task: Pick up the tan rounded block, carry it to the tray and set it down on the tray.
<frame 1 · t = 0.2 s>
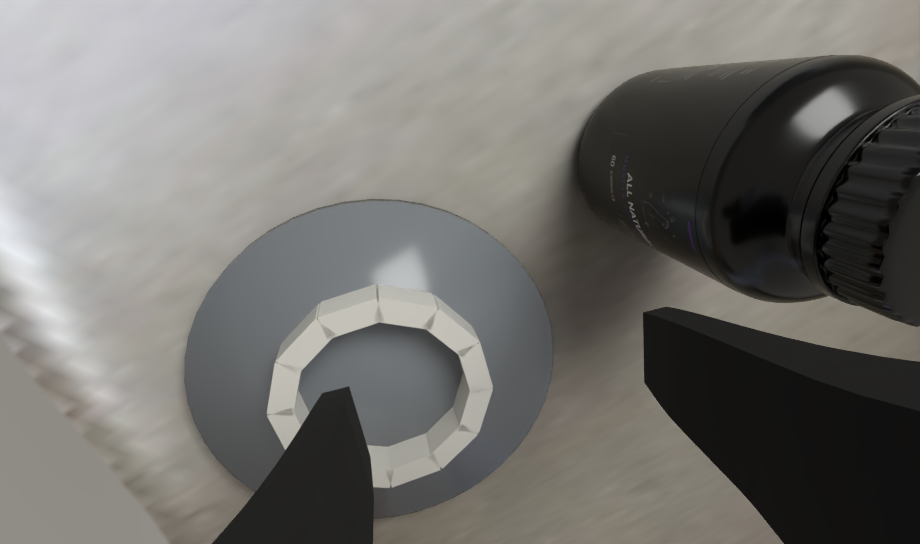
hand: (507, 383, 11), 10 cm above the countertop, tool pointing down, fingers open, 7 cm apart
supplement bottle: (643, 155, 21), on the countertop
tray: (382, 371, 21), on the countertop
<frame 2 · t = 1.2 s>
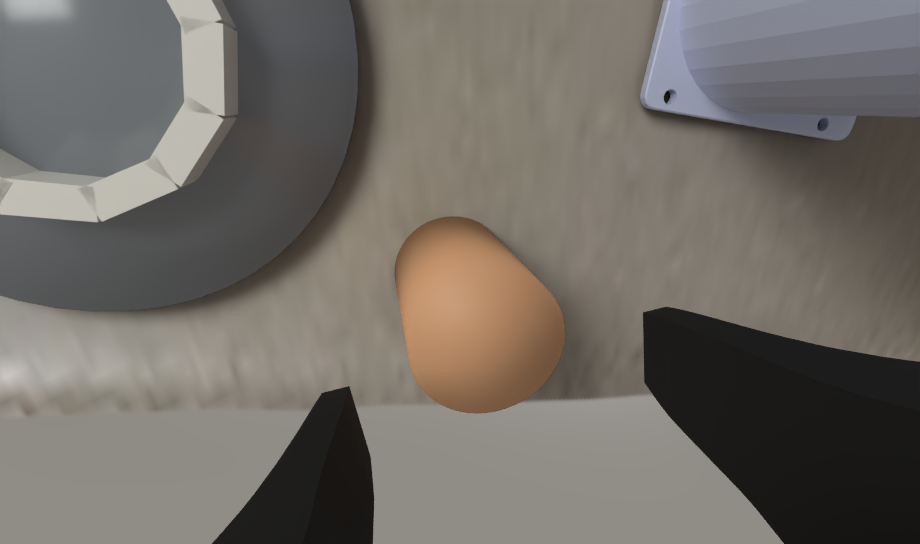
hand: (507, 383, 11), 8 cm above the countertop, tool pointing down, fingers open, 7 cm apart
tray: (78, 50, 14), on the countertop
tan rounded block: (451, 271, 18), on the countertop
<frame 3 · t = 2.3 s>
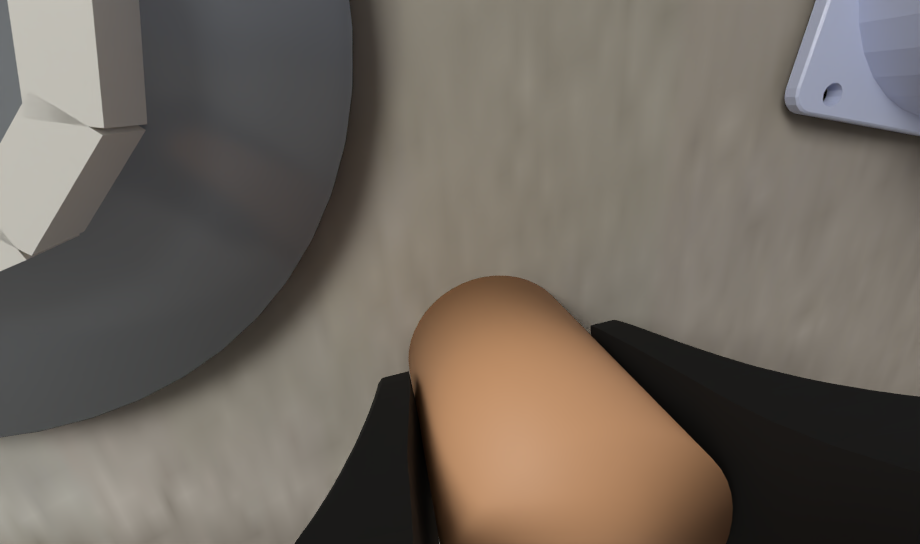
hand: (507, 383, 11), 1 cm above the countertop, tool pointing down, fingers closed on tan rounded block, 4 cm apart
tan rounded block: (491, 353, 12), on the countertop, touching gripper
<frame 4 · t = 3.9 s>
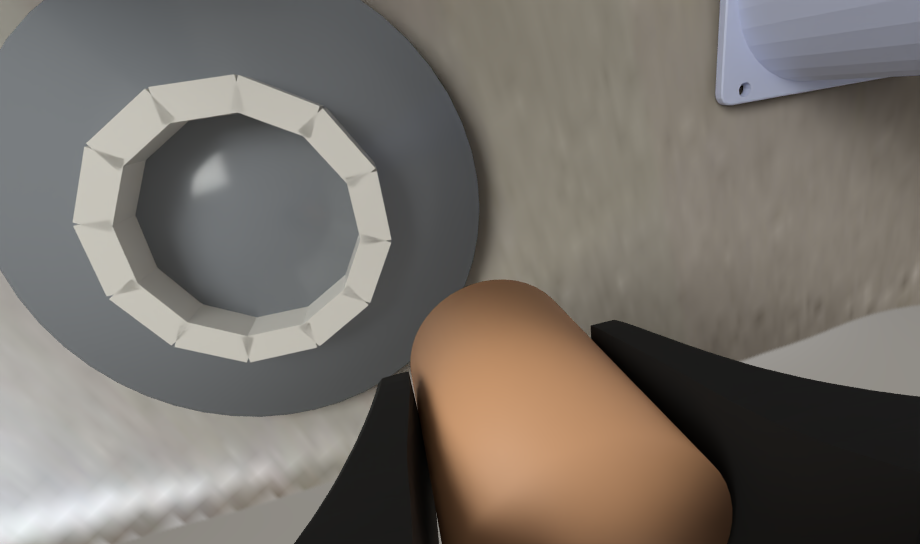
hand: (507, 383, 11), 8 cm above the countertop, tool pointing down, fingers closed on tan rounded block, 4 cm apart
tray: (258, 216, 17), on the countertop
tan rounded block: (492, 356, 12), point 7 cm above the countertop, touching gripper
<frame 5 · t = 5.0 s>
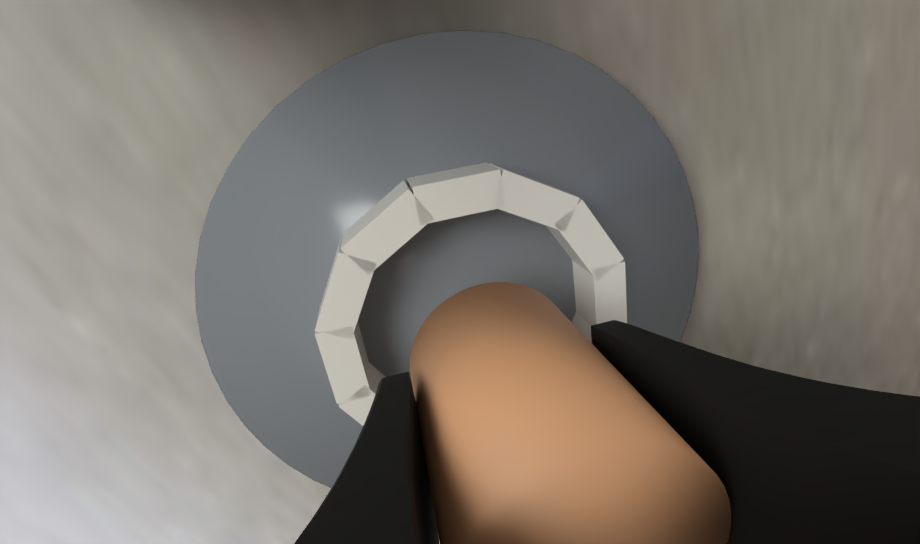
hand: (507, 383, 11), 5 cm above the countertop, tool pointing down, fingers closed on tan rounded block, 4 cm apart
tray: (466, 301, 16), on the countertop
tan rounded block: (492, 359, 12), point 3 cm above the countertop, touching gripper
when the fingers open (4 cm above the countertop, at t = 5.7 s): tan rounded block drops 1 cm, resting on tray.
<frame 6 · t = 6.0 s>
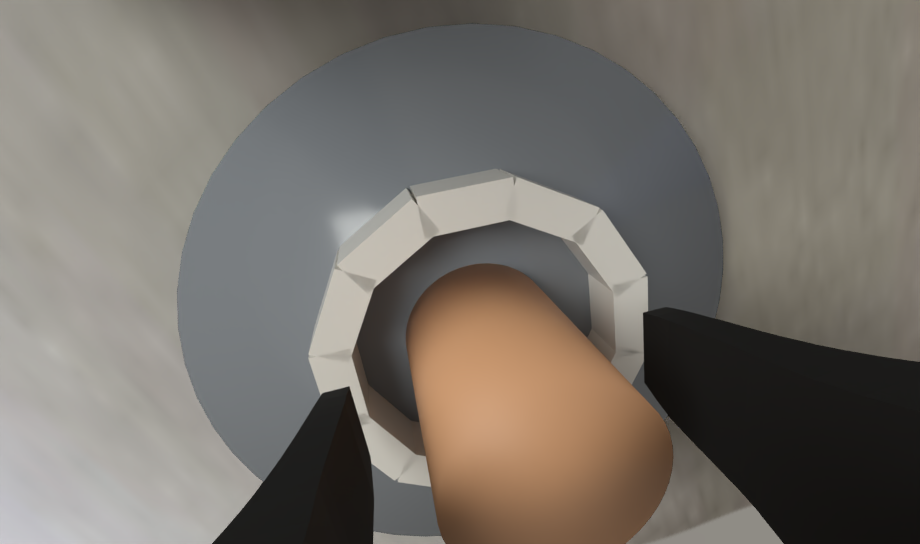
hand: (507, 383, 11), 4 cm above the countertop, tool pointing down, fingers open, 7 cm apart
tray: (473, 317, 14), on the countertop
tan rounded block: (480, 333, 14), point 1 cm above the countertop, touching tray
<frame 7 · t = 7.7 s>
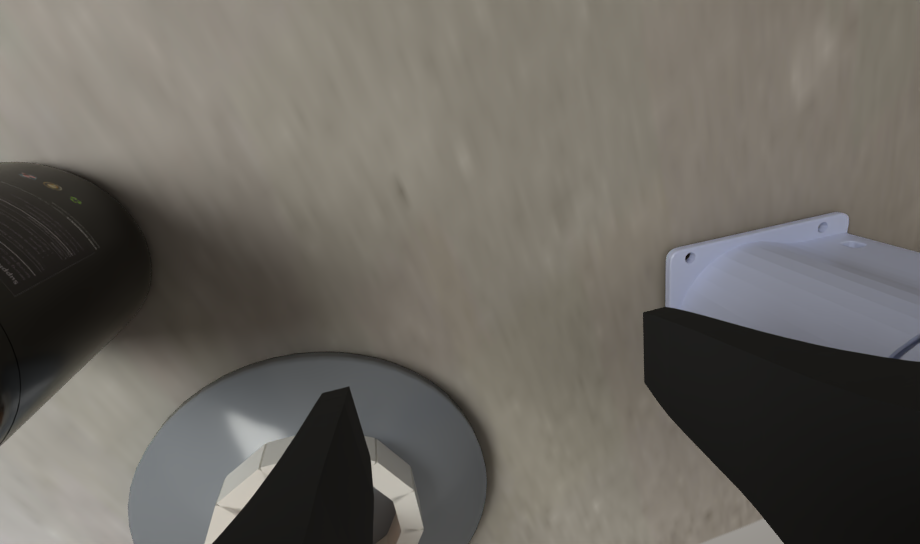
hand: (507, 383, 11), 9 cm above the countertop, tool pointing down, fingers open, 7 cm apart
supplement bottle: (57, 253, 17), on the countertop
tray: (322, 497, 23), on the countertop
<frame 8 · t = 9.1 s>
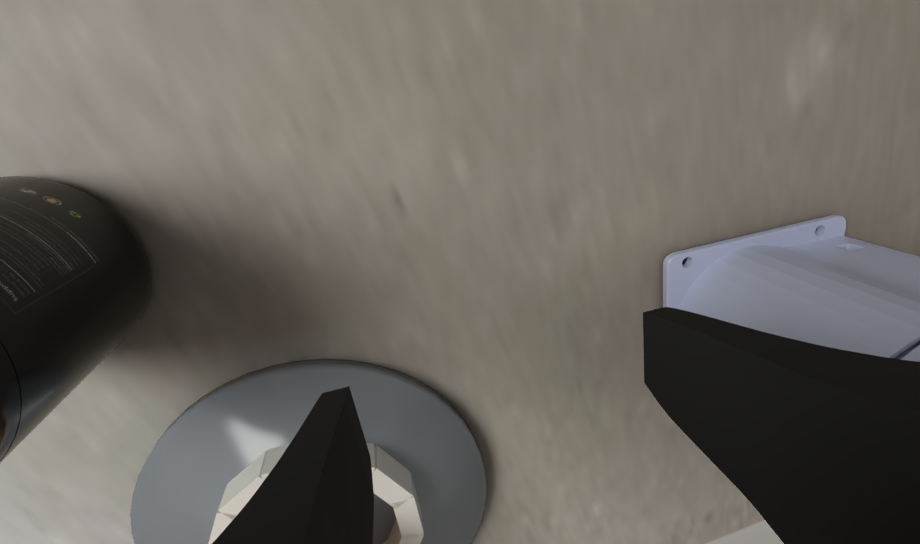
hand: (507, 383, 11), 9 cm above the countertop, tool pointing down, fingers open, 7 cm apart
supplement bottle: (57, 264, 17), on the countertop
tray: (323, 503, 23), on the countertop
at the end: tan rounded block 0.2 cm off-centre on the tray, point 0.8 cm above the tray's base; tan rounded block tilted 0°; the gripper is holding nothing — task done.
